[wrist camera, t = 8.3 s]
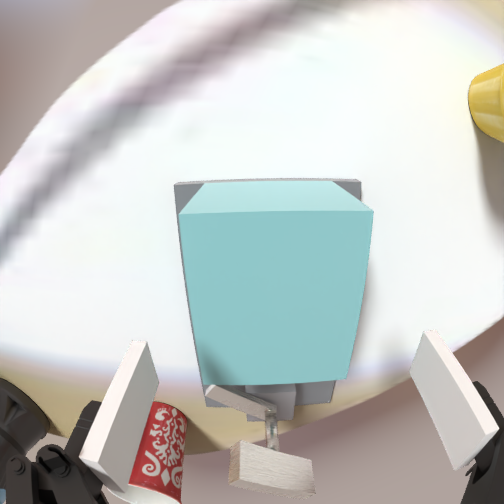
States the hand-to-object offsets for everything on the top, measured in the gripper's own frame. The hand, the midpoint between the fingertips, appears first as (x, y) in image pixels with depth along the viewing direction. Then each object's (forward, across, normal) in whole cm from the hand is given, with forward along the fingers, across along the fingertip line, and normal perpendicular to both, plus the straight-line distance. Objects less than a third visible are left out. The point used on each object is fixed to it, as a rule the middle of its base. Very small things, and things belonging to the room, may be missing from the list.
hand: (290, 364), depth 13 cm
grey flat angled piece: (+10, -2, -15) cm, 18 cm away
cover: (+13, 0, -3) cm, 14 cm away
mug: (+14, -16, -23) cm, 31 cm away
